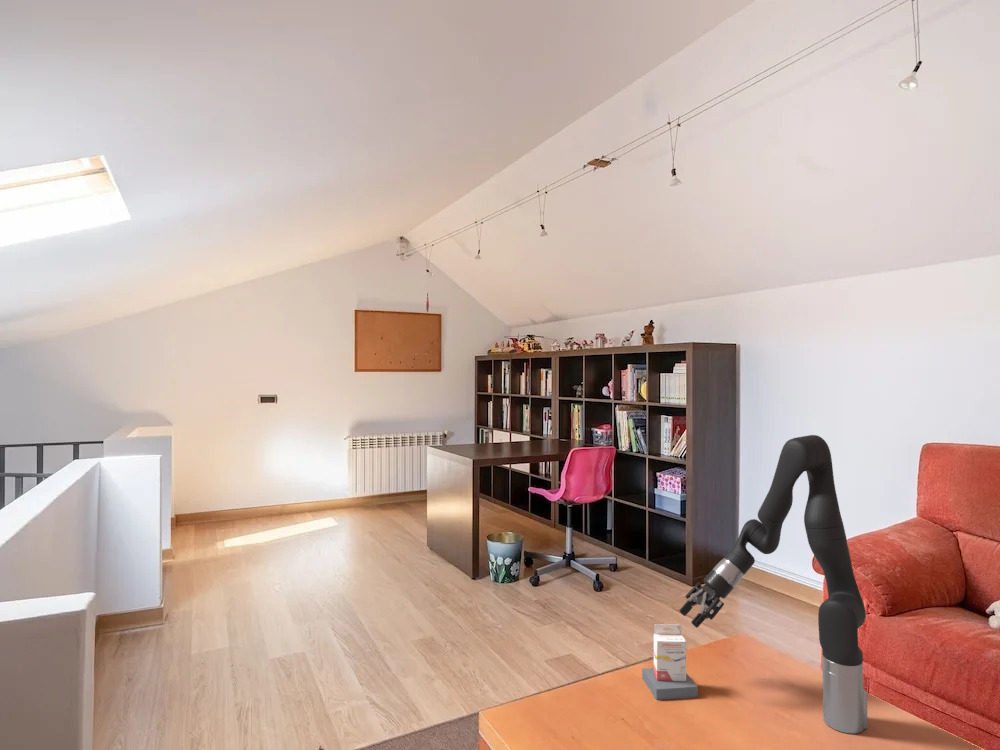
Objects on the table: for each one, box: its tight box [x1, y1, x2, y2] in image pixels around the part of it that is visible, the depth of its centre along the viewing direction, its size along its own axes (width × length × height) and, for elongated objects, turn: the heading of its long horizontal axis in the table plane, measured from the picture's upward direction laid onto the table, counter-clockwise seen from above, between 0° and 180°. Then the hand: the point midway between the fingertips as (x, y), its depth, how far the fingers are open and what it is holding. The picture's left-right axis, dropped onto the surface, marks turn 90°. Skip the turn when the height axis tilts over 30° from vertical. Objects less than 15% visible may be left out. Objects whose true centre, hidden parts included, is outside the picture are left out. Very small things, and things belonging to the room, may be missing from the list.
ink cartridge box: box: [653, 623, 687, 681], centre depth 176 cm, size 9×5×15 cm, turn 88°
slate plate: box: [641, 667, 699, 701], centre depth 176 cm, size 12×12×3 cm
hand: (687, 619), depth 176 cm, fingers open, 8 cm apart
